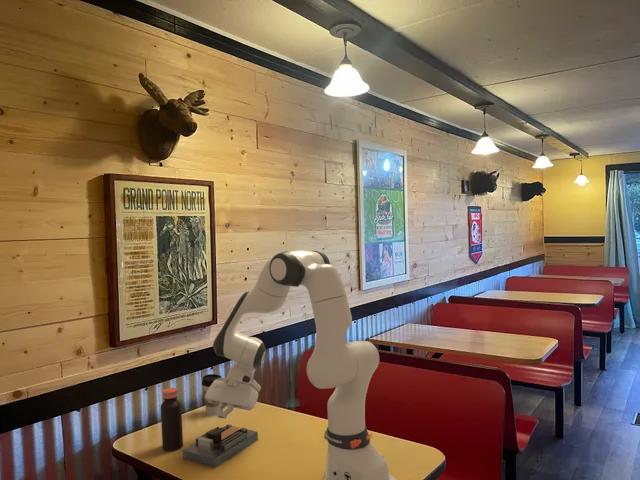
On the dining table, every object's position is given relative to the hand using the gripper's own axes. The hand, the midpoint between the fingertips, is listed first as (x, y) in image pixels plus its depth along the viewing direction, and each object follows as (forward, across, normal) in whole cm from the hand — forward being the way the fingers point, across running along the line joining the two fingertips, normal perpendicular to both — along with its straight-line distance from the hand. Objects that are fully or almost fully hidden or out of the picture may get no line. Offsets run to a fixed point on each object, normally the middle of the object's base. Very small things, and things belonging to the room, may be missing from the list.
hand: (221, 417), depth 166 cm
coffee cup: (-9, -25, +24) cm, 36 cm away
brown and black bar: (-2, 0, +10) cm, 10 cm away
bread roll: (-10, +31, +26) cm, 42 cm away
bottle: (+12, -17, +3) cm, 21 cm away
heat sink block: (+8, 0, +7) cm, 11 cm away
